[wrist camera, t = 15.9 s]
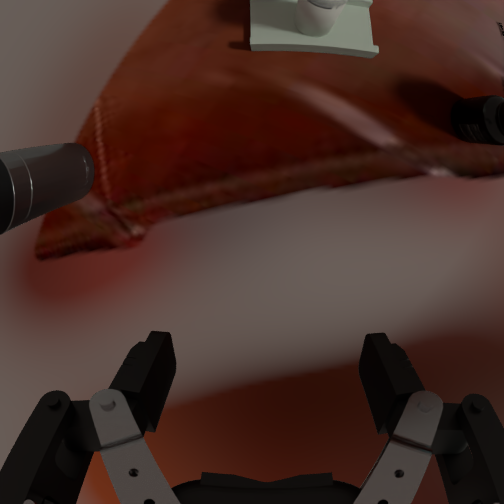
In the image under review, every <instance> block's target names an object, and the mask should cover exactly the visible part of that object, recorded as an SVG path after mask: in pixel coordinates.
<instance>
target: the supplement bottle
mask: <svg viewBox="0 0 504 504" xmlns="http://www.w3.org/2000/svg"><path fill="white" fill-rule="evenodd" d="M451 120H452V125H453V128H454V130H455V132H456V133H457V135H458V136H459V137H460V138H461V139H462V140H464V141H466V142H469V143H478V144H490V145H500V146H504V99H503V98H502V97H500V96H497V95H489V96H481V97H474V98H467V99H462V100H459V101H457V102H456V103H455V104H454V106H453V108H452V113H451Z"/></svg>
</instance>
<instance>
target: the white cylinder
mask: <svg viewBox="0 0 504 504" xmlns="http://www.w3.org/2000/svg"><path fill="white" fill-rule="evenodd" d="M347 1H348V0H298V2H297V7H296V12H295V17H294V23H295V26H296V27H297V29H298V30H299V31H300V32H301V33H303V34H305V35H307V36H310V37H322V36H325V35H326V34H328V33H329V32H330V30H331V29H332V27H333V25H334V24H335V22H336V20H337V18H338V17H339V15H340V13H341V12H342V10H343V8H344V6H345V5H346V3H347Z"/></svg>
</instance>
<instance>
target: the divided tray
mask: <svg viewBox="0 0 504 504" xmlns="http://www.w3.org/2000/svg"><path fill="white" fill-rule="evenodd" d="M297 2H298V0H250V18H251V37H250V46H251V51H303V52H320V53H332V54H342V55H350V56H358V57H365V58H373V57H374V56H376V55H377V54H378V53H379V49H378V46H374V45H373V41H372V31H371V23H370V15H369V7H370V6H371V4H372V3H373V1H372V0H348V1H347V3H346V5H345V6H344V8H343V10H342V12H341V13H340V15H339V17H338V18H337V20H336V22H335V24H334V25H333V27H332V29H331V30H330V32H329V33H328V34H326V35H325V36H322V37H310V36H307V35H305V34H303V33H301V32H300V31H299V30H298V29H297V27H296V26H295V23H294V17H295V12H296V7H297Z"/></svg>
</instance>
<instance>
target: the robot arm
mask: <svg viewBox="0 0 504 504" xmlns="http://www.w3.org/2000/svg"><path fill="white" fill-rule="evenodd" d="M93 179H94V164H93V160H92V158H91V155H90V154H89V152H88V151H87V150H86V148H85V147H83V146H82V145H80V144H77V143H64V144H54V145H46V146H38V147H31V148H25V149H18V150H12V151H6V152H2V153H0V235H1V234H3V233H5V232H7V231H9V230H11V229H13V228H15V227H17V226H19V225H21V224H23V223H26V222H28V221H30V220H32V219H34V218H37V217H39V216H41V215H43V214H46V213H48V212H50V211H53V210H55V209H57V208H60V207H62V206H65V205H67V204H70V203H72V202H74V201H77V200H79V199H81V198H83V197H84V196H85V195H86V194H87V193H88V192H89V190H90V188H91V186H92V183H93ZM175 373H176V358H175V353H174V348H173V343H172V338H171V334H170V333H169V332H159V331H151V333H150V334H149V336H148V338H147V340H146V341H145V342H139V343H138V344H136V345H135V346H134V347H132V348H131V350H130V351H129V353H128V355H127V357H126V358H125V360H124V362H123V365H121V367H120V369H119V370H118V372H117V374H116V376H115V378H114V380H113V381H112V383H111V385H110V387H109V388H108V389H104V390H101V391H99V392H97V393H95V394H94V395H93V396H92V398H91V399H90V400H83V401H71V400H70V398H69V396H68V395H67V394H66V393H65V392H63V391H57V390H56V391H51V392H48V393H46V394H45V395H44V396H43V397H42V398H41V399H40V401H39V402H38V404H37V406H36V407H35V409H34V411H33V412H32V414H31V416H30V417H29V419H28V421H27V423H26V424H25V426H24V428H23V430H22V431H21V433H20V435H19V437H18V438H17V440H16V442H15V444H14V446H13V448H12V449H11V452H10V453H9V455H8V457H7V459H6V461H5V463H4V465H3V467H2V469H1V471H0V504H76V502H77V499H78V496H79V493H80V490H81V487H82V484H83V481H84V478H85V475H86V473H87V470H88V467H89V465H90V462H91V459H92V456H93V454H94V451H100V453H101V456H102V459H103V461H104V464H105V467H106V469H107V472H108V475H109V477H110V479H111V482H112V484H113V487H114V489H115V491H116V494H117V496H118V498H119V501H120V503H121V504H411V501H412V500H413V498H414V496H415V494H416V491H417V489H418V487H419V485H420V483H421V480H422V478H423V475H424V473H425V471H426V468H427V465H428V463H429V460H430V458H431V455H432V454H435V457H436V460H437V463H438V466H439V469H440V473H441V476H442V480H443V483H444V487H445V491H446V494H447V498H448V502H449V504H504V428H503V426H502V424H501V422H500V420H499V419H498V416H497V415H496V413H495V411H494V409H493V407H492V405H491V404H490V402H489V400H488V399H486V398H485V397H484V396H482V395H479V394H469V395H467V396H466V397H465V398H464V399H463V401H462V402H461V404H455V403H442V400H441V399H440V398H439V397H438V396H437V395H436V394H434V393H432V392H429V391H426V390H425V388H424V387H423V385H422V382H421V381H420V379H419V377H418V375H417V373H416V371H415V369H414V368H413V367H412V364H411V362H410V361H409V358H408V356H407V355H406V353H405V351H404V350H403V349H402V348H401V347H399V346H398V345H397V344H391V343H390V341H389V339H388V338H387V336H386V334H385V333H373V334H367V335H366V336H365V340H364V344H363V348H362V352H361V357H360V360H359V376H360V379H361V382H362V385H363V388H364V391H365V394H366V397H367V400H368V403H369V407H370V410H371V413H372V416H373V419H374V423H375V426H376V429H377V433H378V434H384V433H388V436H389V439H388V441H387V443H386V445H385V447H384V448H383V450H382V452H381V454H380V456H379V458H378V459H377V461H376V463H375V465H374V466H373V468H372V470H371V471H370V473H369V475H368V476H367V478H366V480H365V481H364V483H363V484H362V486H361V487H360V488H358V487H356V486H354V485H352V484H348V483H345V482H341V481H337V480H333V478H332V473H321V474H309V475H308V474H307V475H298V476H294V477H290V478H287V479H282V480H278V481H274V482H261V481H257V480H253V479H249V478H245V477H241V476H237V475H231V474H218V473H208V472H202V476H201V479H200V480H193V481H188V482H185V483H182V484H179V485H177V486H175V487H173V488H170V486H169V484H168V483H167V481H166V479H165V478H164V476H163V474H162V472H161V471H160V469H159V467H158V465H157V464H156V462H155V460H154V458H153V456H152V454H151V452H150V450H149V448H148V446H147V444H146V442H145V441H144V438H143V437H144V434H145V431H149V432H155V431H156V428H157V425H158V422H159V419H160V416H161V413H162V410H163V408H164V405H165V402H166V399H167V396H168V393H169V390H170V387H171V385H172V382H173V379H174V376H175ZM468 445H469V446H468ZM469 448H470V449H469ZM470 450H471V451H470ZM471 453H472V454H471Z"/></svg>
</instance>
